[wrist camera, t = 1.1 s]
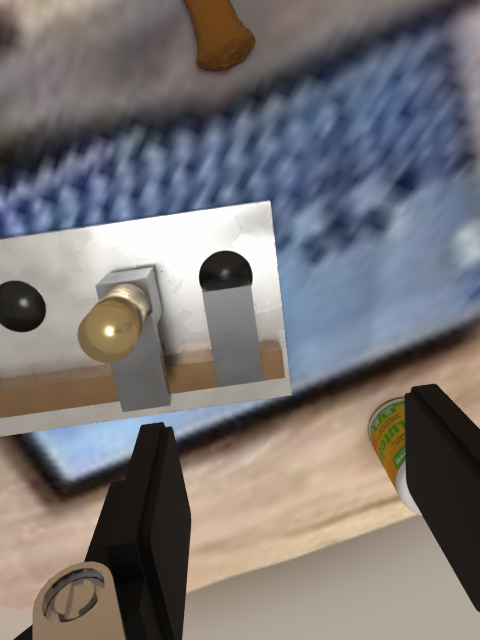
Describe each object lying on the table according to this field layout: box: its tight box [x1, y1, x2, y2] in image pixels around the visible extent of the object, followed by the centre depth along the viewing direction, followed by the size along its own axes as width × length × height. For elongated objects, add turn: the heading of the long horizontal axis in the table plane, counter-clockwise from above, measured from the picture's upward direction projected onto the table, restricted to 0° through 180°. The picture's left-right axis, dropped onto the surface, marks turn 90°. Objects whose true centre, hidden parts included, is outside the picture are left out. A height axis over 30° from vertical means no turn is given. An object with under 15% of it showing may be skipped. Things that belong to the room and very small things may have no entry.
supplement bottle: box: [368, 398, 422, 515], centre depth 32 cm, size 5×5×10 cm
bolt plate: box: [0, 199, 292, 436], centre depth 31 cm, size 25×14×4 cm, turn 98°
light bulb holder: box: [77, 267, 172, 412], centre depth 27 cm, size 3×8×8 cm, turn 8°
